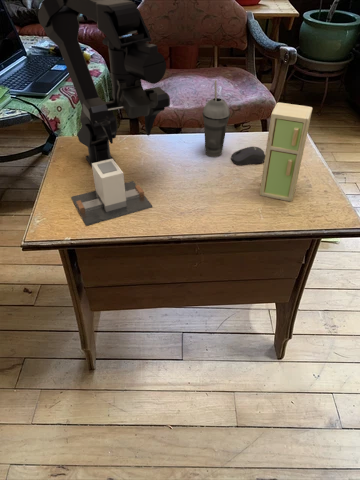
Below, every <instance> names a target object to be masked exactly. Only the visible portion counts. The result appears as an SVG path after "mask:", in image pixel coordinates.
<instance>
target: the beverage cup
mask: <svg viewBox="0 0 360 480" xmlns="http://www.w3.org/2000/svg"><path fill="white" fill-rule="evenodd" d="M217 84H218V83H217V80H216V79H215V80H214V98H212V99H210V100H208V101H207V102H206V103H205V105H204V108H203V111H202V118H203V122H204V123H203V126H204V128H203V129H204V130H203V131H204V149H205V150H204V151H205V155H206V156H207V157H210V158H217V157H220V156H221V155H222V154H223V149H224V143H225V139H226V132H227V126H228V122H229V119H230V116H231V112H230V108H229V105H228V103H227V102H226V101H225V100H224V99H222V98H220V97H218V95H217V94H218V91H217V90H218V89H217V87H218V86H217Z"/></svg>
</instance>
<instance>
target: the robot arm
mask: <svg viewBox="0 0 360 480" xmlns="http://www.w3.org/2000/svg"><path fill="white" fill-rule="evenodd" d="M80 15H82V16H84V17H85V18H88V19H91V20H92V21H94V22H95V23H96V24H97V29H98V30H99V31H100V32H101V33H103V34H104V36H106V37H104V38H103V40H102V44H103V45H105V46H107V47H108V57H109V66H110V67H109V68H110V72H109V78H110V79H111V85H112V87H111V88H112V91H111V97H112V98H113V100H108V101H104V100H103V99H102V98H101V97H100V96H99V93H98V90H97V88H96V85H95V82H94V79H93V77H92V74H91V71H90V69H89V66H88V63H87V61H86V58H85V55H84V52H83V50H82V48H81V47H82V46H81V45H80V42H79V39H78V38H79V34H80V27H81V26H80V22H79V17H80ZM37 19H38V22H39V24H40V26H41V27H42V29H43V30H44V32H45V34H46V37H47V38H48V39H49V40H50V41H51V42H53V43H54V44H55V46H57V47H58V49H59V52H60V54H61V56H62V59H63V62H64V65H65V67H66V70H67V73H68V74H69V77H70V81H71V83H72V85H73V87H74V90H75V93H76V95H77V98H78V101H79V103H80V105H81V111H80V116H79V117H80V118H79V120H80V123H81V127H80V129H79V131H78V132H77V133H76V135H77V138H78V141H79V143H81V144H82V145H83V146H85V147H87V151H88V155H85V159H86V160H87V162H88V163H89V165H90V166H91V168H92V163H95V162H100V161H104V160H108V159H113V160H114V161H115V162H116V160H115V159H114V157H113V156H112V154H111V147H110V144H114V141H113V139H116V138H117V131H118V121H117V118H116V116H115V114H114V111H116V110H117V111H118V110H122V109H124V111H125V113H126V116H127V117H128V118H129V119H136V118H139V117H144V129H145V134H146V135H147V136H148V137H149V136H150V135H151V132H152V128H153V126H154V123H155V120H156V118H157V116H158V114H160V113H161V112H163V111H164V110H166V108H168V107H170V106H171V98H170V95H169V94H168V92H166V91H165V90H164V89H162V88H161V87H160V86H156V87H150V88H143V86H142V81H145V82H146V83H149V84H158V83H159V82H161V80H162V79H163V78H164V76H165V74H166V72H167V62H166V60H165V57H164V55H163V54H162V53H161V52H158V51H159V50H158V49H159V48H158V45H157V44H154V43H150V42H152V37H151V35H150V33H149V32H150V30H149V29H148V27H147V25H146V23H145V21H144V18H143V17H142V14H141V12H140V9H139V8H138V5H137V4H136V3H135V2H134V1H133V0H42V2H41V4H40V6H39V8H38V12H37ZM123 36H124V37H123Z"/></svg>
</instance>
